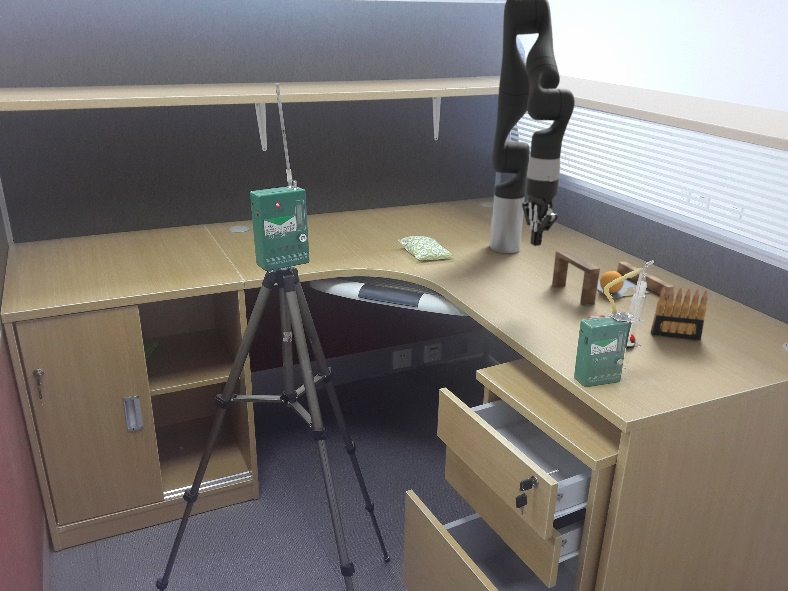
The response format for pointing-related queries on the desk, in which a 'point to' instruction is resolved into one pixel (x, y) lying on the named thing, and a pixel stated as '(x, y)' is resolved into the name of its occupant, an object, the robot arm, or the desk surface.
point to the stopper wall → (652, 281)
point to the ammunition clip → (679, 316)
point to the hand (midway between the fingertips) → (535, 244)
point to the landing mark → (620, 293)
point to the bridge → (589, 269)
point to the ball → (609, 278)
